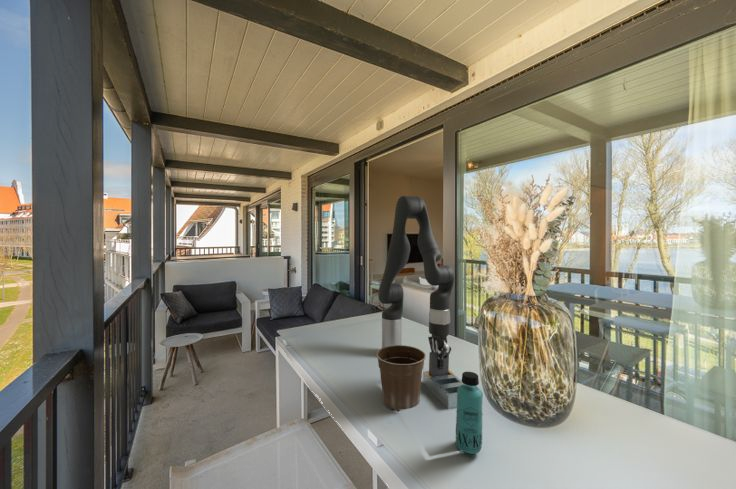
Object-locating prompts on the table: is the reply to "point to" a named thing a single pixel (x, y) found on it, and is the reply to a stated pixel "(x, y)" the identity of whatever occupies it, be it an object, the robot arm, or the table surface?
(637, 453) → the table surface
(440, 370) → the panel
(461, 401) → the beverage bottle
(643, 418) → the table surface
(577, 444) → the table surface
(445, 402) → the rack
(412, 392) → the plant pot
